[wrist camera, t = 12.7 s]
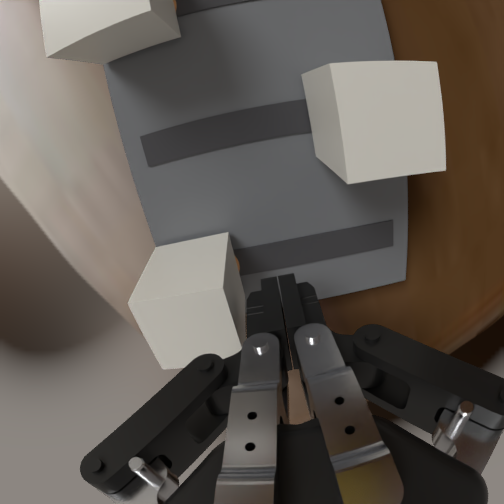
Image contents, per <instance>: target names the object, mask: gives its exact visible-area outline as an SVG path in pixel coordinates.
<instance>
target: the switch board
mask: <svg viewBox="0 0 504 504" xmlns="http://www.w3.org/2000/svg"><path fill="white" fill-rule="evenodd" d="M173 2H174V7H175V11H176V16H177V20H178V25H179V29H180V34H181V37H179V38H176V39H173V40H169V41H166V42H163V43H160V44H157V45H154V46H151V47H148V48H145V49H142V50H139V51H136V52H134V53H131V54H128V55H126V56H123V57H120V58H118V59H115V60H113V61H110V62H108V63H106V64H103V66H104V70H105V75H106V79H107V84H108V88H109V92H110V96H111V100H112V104H113V108H114V112H115V116H116V120H117V124H118V128H119V131H120V135H121V139H122V142H123V146H124V149H125V153H126V156H127V160H128V163H129V166H130V170H131V173H132V176H133V179H134V183H135V186H136V189H137V192H138V195H139V198H140V201H141V204H142V207H143V210H144V213H145V216H146V219H147V222H148V225H149V228H150V231H151V234H152V236H153V239H154V242H155V245H156V247H159V246H164V245H168V244H173V243H178V242H182V241H187V240H192V239H197V238H202V237H207V236H211V235H216V234H221V233H226V232H229V236H230V240H231V244H232V248H233V251H234V255H235V259H236V263H237V267H238V271H239V274H240V278H241V282H242V286H243V289H244V293H245V313H247V306H246V300H247V298H248V296H249V295H250V293H251V292H255V291H260V290H261V279H264V278H270V277H275V276H277V281H278V286H279V291H280V285H279V280H278V276H280V275H285V274H290V273H294V276H295V280H296V284H297V283H302V282H309V283H310V284H311V285H312V286H313V287H314V288H315V291H316V295H317V298H318V300H319V299H324V298H328V297H333V296H338V295H343V294H347V293H352V292H356V291H361V290H365V289H370V288H374V287H378V286H383V285H387V284H391V283H395V282H399V281H403V280H405V279H406V263H407V240H408V186H407V175H406V176H399V177H392V178H385V179H379V180H372V181H365V182H359V183H353V184H347V183H346V182H345V181H344V180H342V179H341V178H340V177H339V176H338V175H337V174H336V173H335V172H333V171H332V170H331V169H330V168H329V167H328V166H327V165H325V164H324V163H323V162H322V161H321V160H320V159H318V158H317V157H316V154H315V148H314V142H313V136H312V130H311V124H310V118H309V112H308V107H307V102H306V96H305V91H304V86H303V81H302V76H301V74H304V73H306V72H308V71H311V70H314V69H316V68H319V67H321V66H324V65H327V64H329V63H341V62H358V61H394V56H393V51H392V46H391V41H390V36H389V32H388V28H387V23H386V19H385V15H384V11H383V7H382V4H381V0H173ZM280 296H281V291H280ZM281 302H282V297H281ZM282 307H283V303H282Z"/></svg>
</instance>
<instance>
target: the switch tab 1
mask: <svg viewBox="0 0 504 504" xmlns="http://www.w3.org/2000/svg"><path fill="white" fill-rule="evenodd" d="M39 3H40V14H41V23H42V31H43V38H44V45H45V52H46V58H56V59H65V60H74V61H81V62H89V63H95V64H102V65H103V64H106V63H108V62H110V61H113V60H115V59H118V58H120V57H123V56H126V55H128V54H131V53H134V52H136V51H139V50H142V49H145V48H148V47H151V46H154V45H157V44H160V43H163V42H166V41H169V40H173V39H176V38H179V37H181V34H180V29H179V25H178V20H177V16H176V11H175V7H174V2H173V0H39Z"/></svg>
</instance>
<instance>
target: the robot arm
mask: <svg viewBox="0 0 504 504" xmlns="http://www.w3.org/2000/svg"><path fill="white" fill-rule="evenodd" d="M278 280H279V285H280V291H281V296H280V291H279V286H278V281H277V276H275V277H270V278H264V279H261V290H260V291H255V292H251V293H250V295H249V296H248V298H247V300H246V306H247V339H246V340H245V341H244V343H243V345H242V349H241V350H240V351H239V352H238V353H236V354H234V355H232V356H230V357H227V358H225V359H222V358H221V357H220V356H219V355H216V354H212V353H208V354H203V355H200V356H198V357H196V358H195V359H193V360H192V361H191V362H190V363H189V364H188V365H187V366H186V367H185V368H184V369H183V370H182V371H180V372H179V373H178V374H177V375H176V376H175V377H174V378H173V379H172V380H171V381H170V382H168V384H166V385H165V386H164V387H163V388H162V389H161V390H160V391H159V392H158V393H156V394H155V395H154V396H153V397H152V398H151V399H150V400H149V401H148V402H146V403H145V404H144V405H143V406H142V407H141V408H140V409H139V410H138V411H136V412H135V413H134V414H133V415H132V416H131V417H130V418H129V419H128V420H126V421H125V422H124V423H123V424H122V425H121V426H119V427H118V428H117V429H116V430H115V431H114V432H113V433H111V434H110V435H109V436H108V437H107V438H106V439H105V440H103V441H102V442H101V443H100V444H99V445H98V446H96V447H95V448H94V449H93V450H92V451H91V452H89V453H88V454H87V455H86V456H85V457H84V459H83V460H82V462H81V466H80V472H81V475H82V477H83V478H84V480H85V481H87V482H88V483H89V484H91V485H92V486H94V487H95V488H97V489H98V490H99V491H100V492H101V493H103V494H104V495H106V496H108V497H109V498H111V499H112V501H113V502H114V503H115V504H487V502H488V490H487V486H486V483H485V481H484V479H483V477H482V476H481V473H482V471H483V470H484V468H485V466H486V464H487V462H488V460H489V458H490V456H491V454H492V452H493V450H494V448H495V446H496V444H497V442H498V440H499V438H500V435H501V434H502V433H503V431H504V378H501V377H499V376H497V375H494V374H492V373H490V372H487V371H485V370H482V369H480V368H478V367H475V366H473V365H471V364H468V363H466V362H464V361H461V360H459V359H457V358H454V357H452V356H450V355H447V354H445V353H443V352H440V351H438V350H436V349H433V348H431V347H429V346H427V345H424V344H422V343H420V342H417V341H415V340H413V339H410V338H408V337H406V336H404V335H401V334H399V333H397V332H394V331H392V330H390V329H388V328H385V327H383V326H380V325H376V324H370V325H365V326H363V327H361V328H359V329H358V330H357V331H356V332H355V334H354V335H341V334H337V333H335V332H333V331H331V330H330V329H329V328H328V327H327V325H326V323H325V320H324V316H323V313H322V310H321V307H320V304H319V301H318V298H317V295H316V291H315V288H314V287H313V286H312V285H311V284H310V283H309V282H302V283H297V284H296V280H295V276H294V273H290V274H285V275H280V276H278ZM281 297H282V302H281ZM282 303H283V307H282ZM283 310H284V313H283ZM284 316H285V319H284ZM285 322H286V325H285ZM286 328H287V331H286ZM287 333H288V337H287ZM288 339H289V344H290V350H291V355H292V360H293V366H294V369H299V372H300V378H301V384H302V388H303V392H304V396H305V399H306V403H307V407H308V410H309V414H310V418H311V420H310V421H307V422H305V423H302V424H298V425H292V424H290V422H289V387H288V371H289V370H292V363H291V357H290V350H289V344H288ZM365 398H366V399H368V400H369V401H371V402H373V403H375V404H377V405H378V406H380V407H382V408H384V409H386V410H387V411H389V412H391V413H393V414H395V415H396V416H398V417H400V418H402V419H404V420H406V421H407V422H409V423H411V424H413V425H415V426H417V427H419V428H421V429H423V430H424V431H426V432H428V433H430V434H432V442H433V445H434V446H435V447H434V446H431V445H430V444H428V443H427V442H425V441H423V440H421V439H420V438H418V437H416V436H414V435H413V434H411V433H409V432H408V431H406V430H404V429H403V428H401V427H399V426H398V425H396V424H394V423H393V422H391V421H389V420H387V419H385V418H382V417H379V416H376V415H372V414H371V412H370V410H369V407H368V405H367V402H366V400H365ZM226 427H227V432H226V440H225V441H224V442H222V443H221V444H219V445H218V446H217V447H216V448H215V449H214V450H212V452H211V453H210V454H209V455H208V456H207V457H206V458H205V459H204V460H203V462H202V463H201V464H200V465H199V466H198V467H197V468H196V469H195V470H194V471H193V473H192V474H191V475H190V476H189V477H188V478H187V479H186V480H185V481H184V482H183V483H182V484H181V485H180V486H179V479H178V477H179V476H180V475H181V474H182V473H183V472H184V471H185V470H186V469H187V468H188V467H189V466H190V465H191V464H192V463H193V462H194V461H195V460H196V459H197V458H198V457H199V456H200V455H201V454H202V453H203V452H204V451H205V450H206V449H207V448H208V447H209V446H210V445H211V444H212V443H213V442H214V440H215V439H216V438H217V437H218V436H219V435H220V434H221V433H222V432H223V431H224V430H225V428H226Z"/></svg>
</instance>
